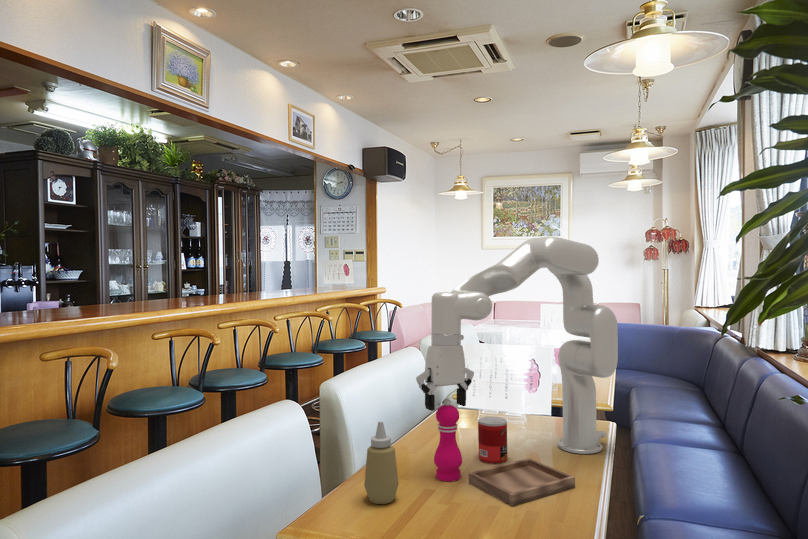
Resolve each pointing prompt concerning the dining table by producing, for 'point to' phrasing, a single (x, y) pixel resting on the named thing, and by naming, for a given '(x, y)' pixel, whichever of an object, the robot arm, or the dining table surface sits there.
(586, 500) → the dining table surface
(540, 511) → the dining table surface
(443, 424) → the pepper mill
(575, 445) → the robot arm
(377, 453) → the squeeze bottle
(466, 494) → the dining table surface
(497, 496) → the walnut tray
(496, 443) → the canned food
